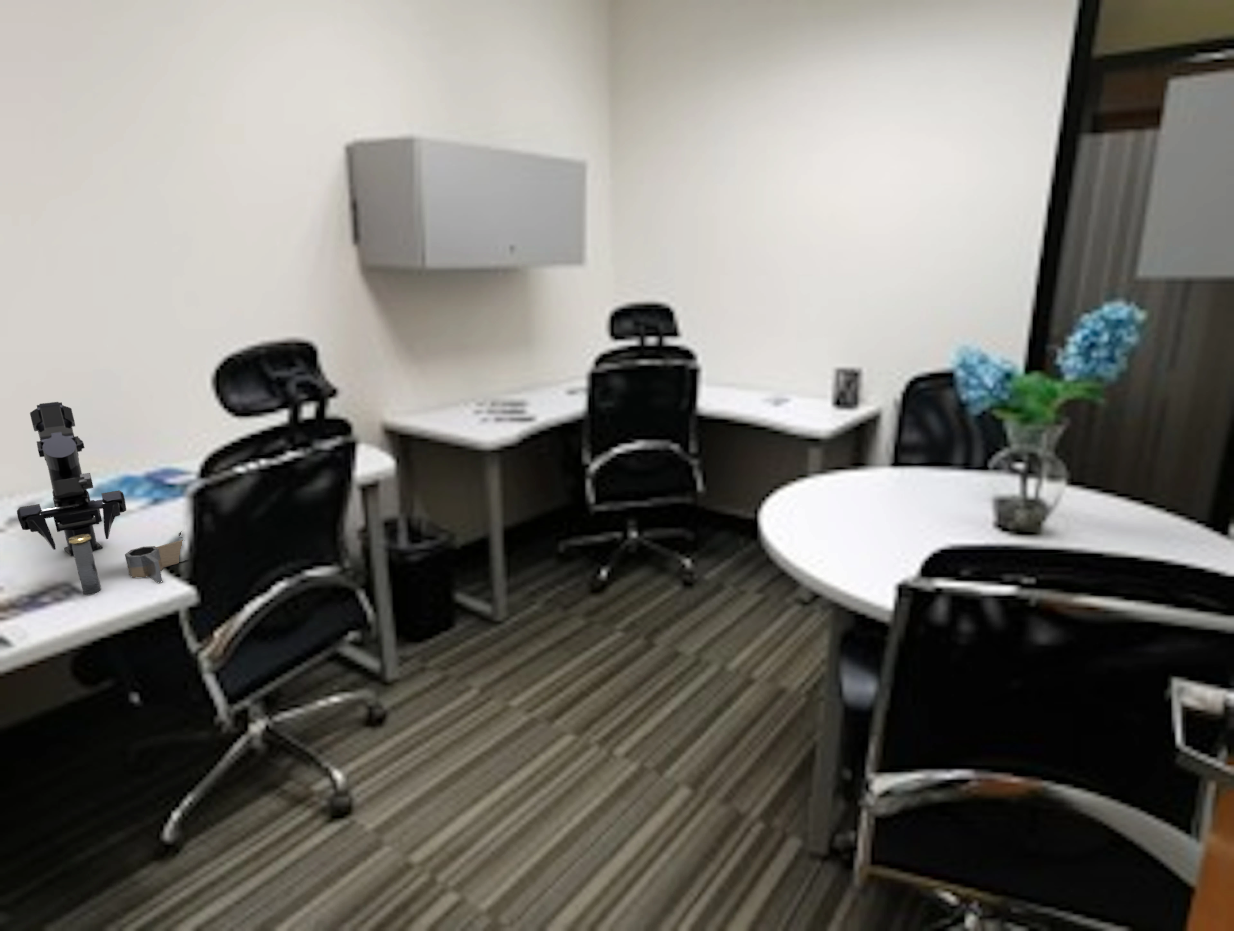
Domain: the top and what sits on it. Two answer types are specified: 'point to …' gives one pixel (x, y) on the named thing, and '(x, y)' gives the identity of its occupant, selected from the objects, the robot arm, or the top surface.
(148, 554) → the bronze hinge
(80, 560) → the hinge pin
